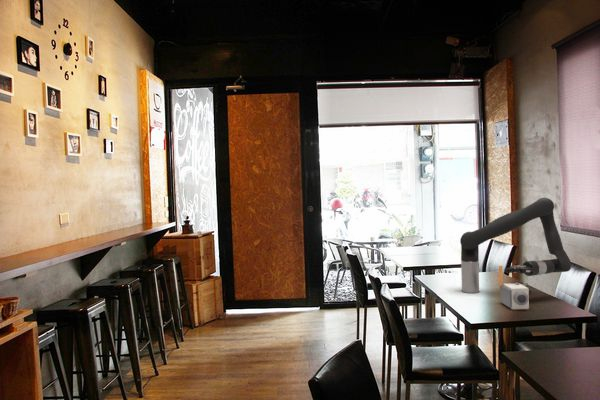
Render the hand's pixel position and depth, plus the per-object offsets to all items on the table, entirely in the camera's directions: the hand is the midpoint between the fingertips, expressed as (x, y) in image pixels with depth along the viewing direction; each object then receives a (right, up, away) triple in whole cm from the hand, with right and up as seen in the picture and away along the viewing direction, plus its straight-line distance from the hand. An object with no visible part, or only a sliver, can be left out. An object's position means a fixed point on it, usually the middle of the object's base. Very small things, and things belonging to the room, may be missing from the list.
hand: (506, 270), depth 250 cm
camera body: (+2, -17, -6) cm, 18 cm away
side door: (-2, -16, -5) cm, 17 cm away
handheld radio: (+13, -16, +12) cm, 24 cm away
